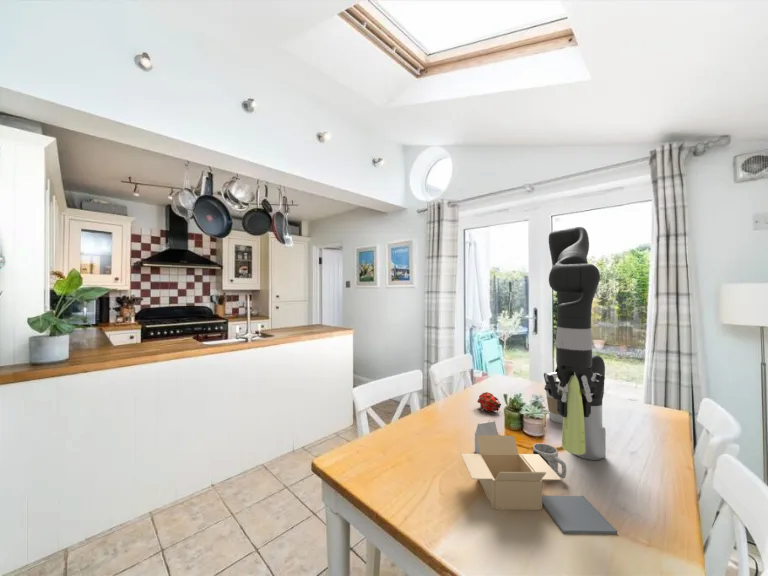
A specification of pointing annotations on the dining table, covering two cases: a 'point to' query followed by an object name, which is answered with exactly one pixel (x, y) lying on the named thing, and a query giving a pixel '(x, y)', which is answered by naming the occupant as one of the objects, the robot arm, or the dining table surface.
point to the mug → (550, 457)
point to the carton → (508, 473)
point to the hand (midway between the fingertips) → (573, 415)
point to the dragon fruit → (488, 402)
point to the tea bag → (484, 432)
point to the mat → (576, 515)
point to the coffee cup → (553, 406)
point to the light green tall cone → (574, 421)
